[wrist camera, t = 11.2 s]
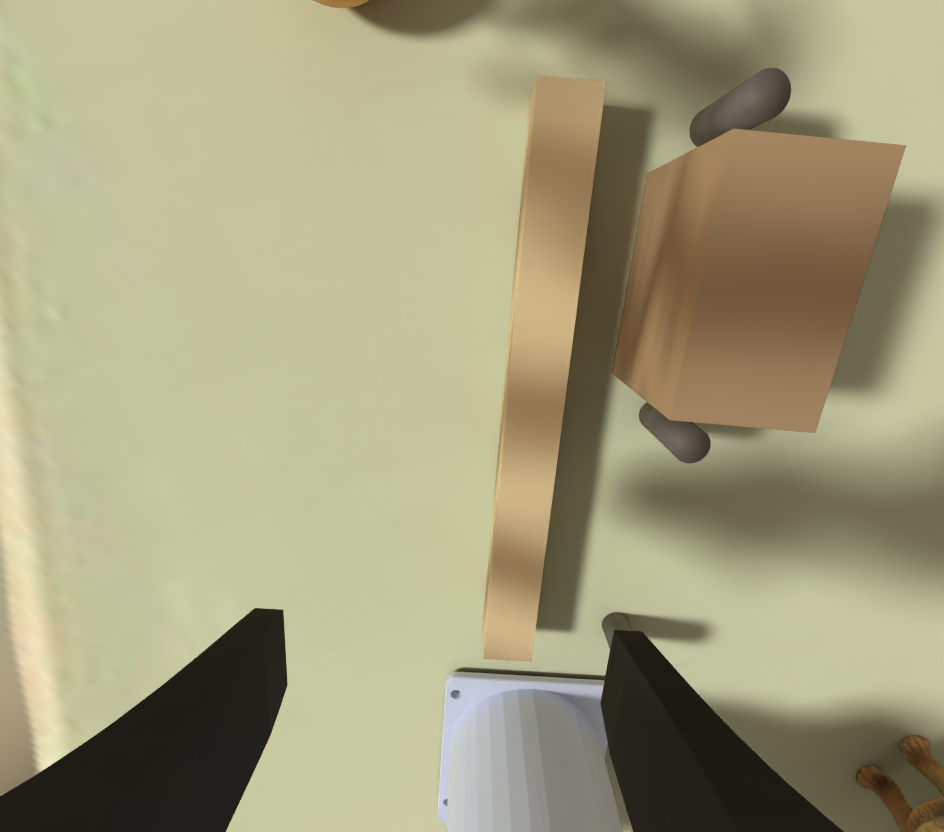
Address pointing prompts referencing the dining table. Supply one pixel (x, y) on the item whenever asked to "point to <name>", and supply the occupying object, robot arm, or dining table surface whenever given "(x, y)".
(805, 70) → the dining table surface
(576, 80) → the ledge
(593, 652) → the dining table surface
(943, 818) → the lion figurine
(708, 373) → the wooden box
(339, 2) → the figurine
